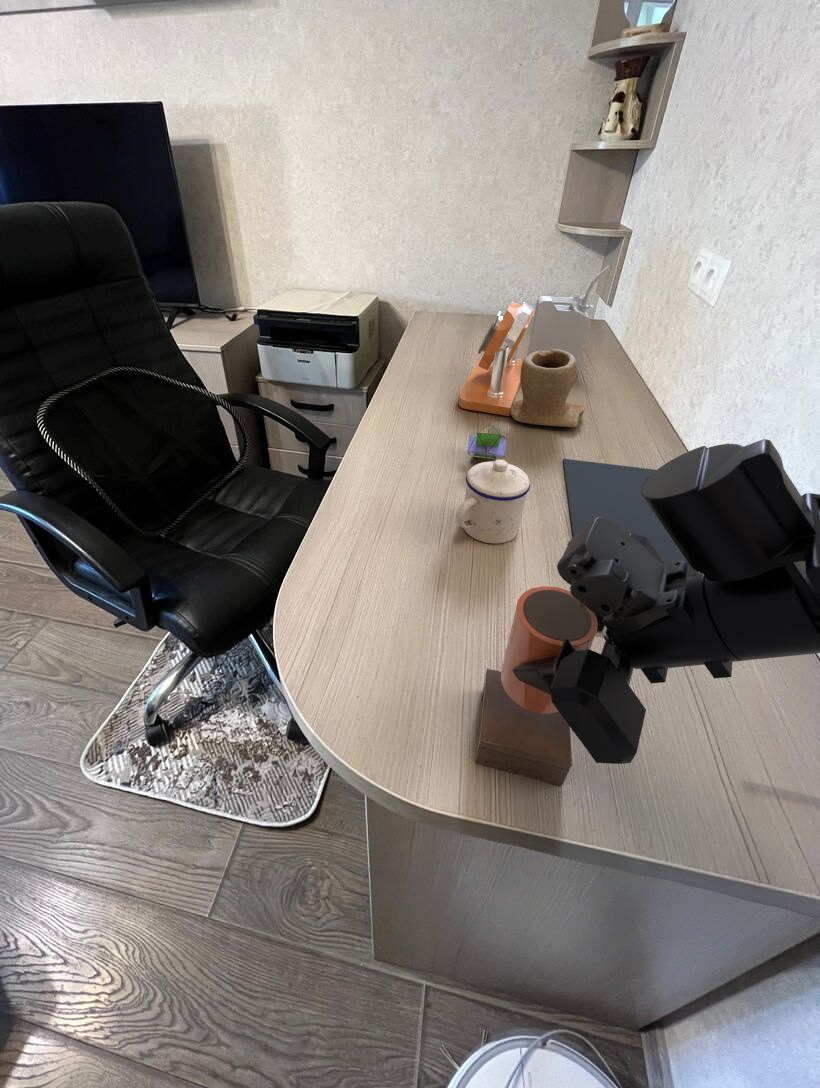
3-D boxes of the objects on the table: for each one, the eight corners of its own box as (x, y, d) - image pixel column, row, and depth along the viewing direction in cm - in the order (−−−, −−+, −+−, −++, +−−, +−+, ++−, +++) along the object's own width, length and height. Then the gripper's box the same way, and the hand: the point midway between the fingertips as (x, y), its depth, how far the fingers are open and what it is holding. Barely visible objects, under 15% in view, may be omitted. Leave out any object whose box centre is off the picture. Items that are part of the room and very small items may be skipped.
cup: (582, 678, 45) (609, 610, 40) (554, 728, 41) (580, 660, 36) (520, 642, 49) (537, 574, 44) (488, 685, 45) (502, 617, 40)
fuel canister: (584, 366, 132) (611, 264, 118) (588, 373, 128) (615, 268, 114) (525, 362, 134) (543, 262, 120) (526, 369, 130) (546, 266, 116)
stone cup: (506, 429, 103) (518, 359, 95) (511, 405, 112) (522, 339, 104) (584, 440, 99) (604, 368, 91) (582, 415, 108) (600, 347, 100)
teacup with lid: (488, 502, 82) (498, 440, 76) (532, 530, 76) (547, 466, 70) (433, 529, 77) (439, 464, 70) (476, 562, 71) (487, 495, 64)
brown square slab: (562, 786, 46) (572, 764, 44) (474, 763, 48) (480, 741, 46) (559, 708, 52) (567, 686, 50) (482, 690, 54) (487, 667, 52)
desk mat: (729, 655, 58) (732, 651, 58) (584, 628, 61) (585, 625, 61) (655, 472, 90) (656, 469, 89) (562, 461, 93) (563, 458, 93)
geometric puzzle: (505, 467, 87) (511, 422, 87) (465, 463, 88) (471, 418, 88) (501, 471, 94) (506, 429, 94) (464, 467, 95) (469, 425, 95)
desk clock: (528, 369, 130) (543, 288, 119) (511, 418, 107) (528, 323, 96) (481, 363, 134) (491, 284, 122) (454, 409, 111) (464, 317, 99)
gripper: (677, 451, 38) (513, 516, 49) (629, 609, 25) (423, 649, 36) (755, 566, 39) (577, 605, 50) (747, 777, 26) (510, 764, 37)
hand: (528, 646), depth 43 cm, fingers closed on cup, 6 cm apart
